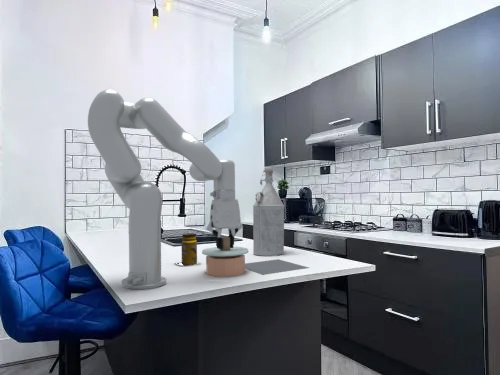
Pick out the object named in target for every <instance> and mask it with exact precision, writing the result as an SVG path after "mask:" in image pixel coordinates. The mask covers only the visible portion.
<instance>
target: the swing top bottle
mask: <svg viewBox="0 0 500 375" xmlns="http://www.w3.org/2000/svg"><path fill="white" fill-rule="evenodd" d="M263 169H264V170H263V171H262V173H261V174H262V175H261V177H263V176H265V178H264V179H263V178H261V179H259V180H260V181H259V184H260V185H261V186H263V182H265V185H264V186H263V188H262V190H261V191H257V192H256V193H255V194H254V195H255V196H254V197H255V202H254V204H253V205H252V206H253V208H252V209H253V210H252V211H253V212H252V214H253V217H252V219H253V224H252V225H253V231H252V232H253V236H252V237H253V244H252V246H253V255H255V256H262V257H273V256H282V255H283V254H284V253H285V246H284V245H285V205H284V203H283V201H282V200H281V197H280V196H279V194H278V193H277V192H278V191H276V189H275V187H274V184H273V183H274V181H275V179H274V178H273V174H274V171H275V169H274V168H273V167H268V166H265V167H264V168H263Z"/></svg>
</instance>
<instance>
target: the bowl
mask: <svg viewBox="0 0 500 375" xmlns="http://www.w3.org/2000/svg"><path fill="white" fill-rule="evenodd" d="M245 263H246V255H245V254H243V255H237V256H208V255H205V265H206V266H205V271H206V274H207V275H208V276H212V277H236V276H241V275H244V273H245V272H246V269H245Z"/></svg>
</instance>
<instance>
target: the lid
mask: <svg viewBox="0 0 500 375" xmlns="http://www.w3.org/2000/svg"><path fill="white" fill-rule="evenodd" d="M221 237H222V239H223V249H218V248H217V246H216V247H208V248H204V249H202V251H201V253H202V255H204V256H237V255H245V254H249V249H248V248H247V247H242V246H233V248H230V237H228V236H221Z"/></svg>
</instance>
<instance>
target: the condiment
mask: <svg viewBox="0 0 500 375" xmlns="http://www.w3.org/2000/svg"><path fill="white" fill-rule="evenodd" d="M181 239H182V240H181V262H173V264H174V265H176V263H177V264H179V263H182V264H183V266H182V267H185V266H184V265H188V266H195V265H194V264H197V263H198V265H201V263H199V262H198V241H197V236H196V233H191V232H190V233H189V232H188V233H183V234H182V238H181Z"/></svg>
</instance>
